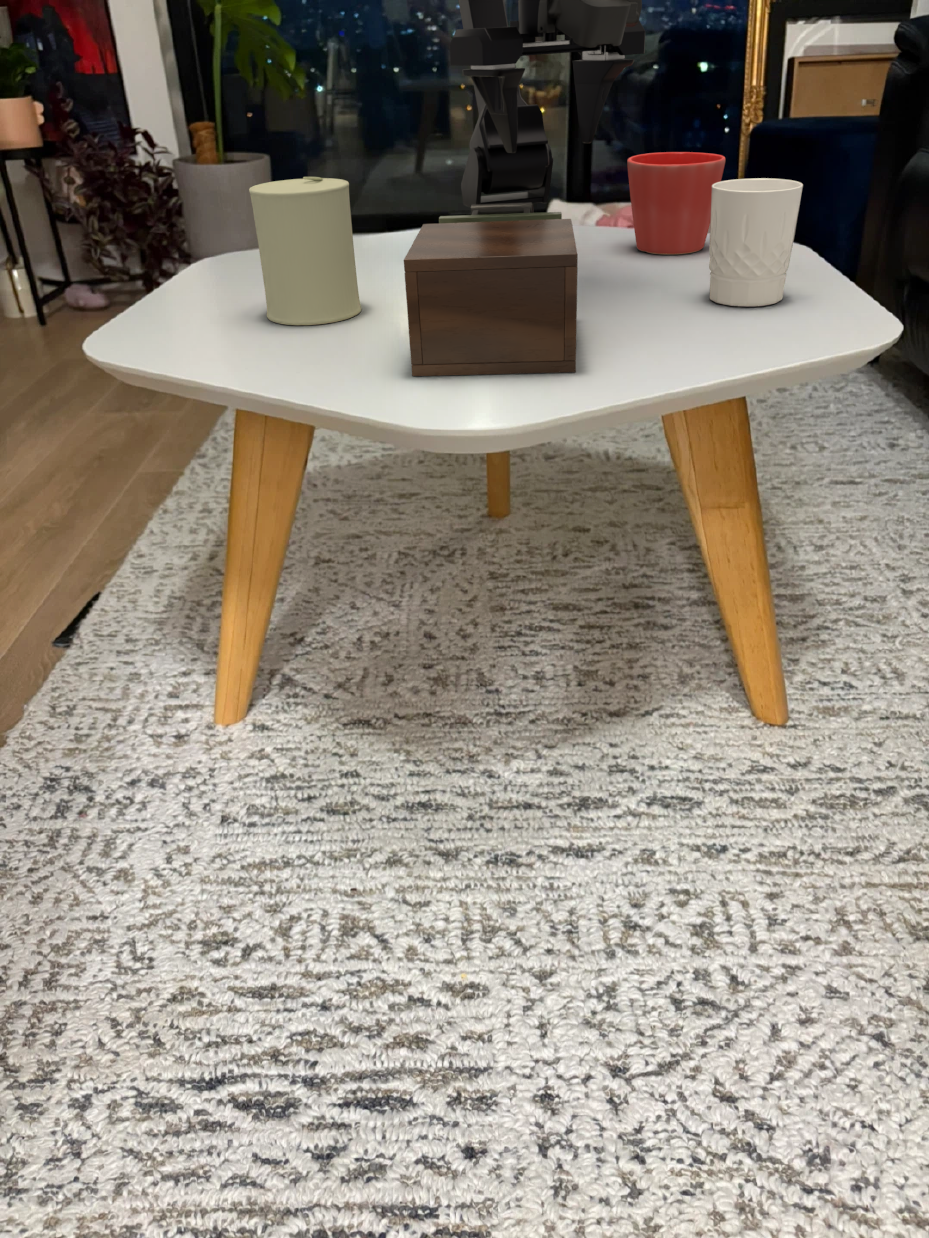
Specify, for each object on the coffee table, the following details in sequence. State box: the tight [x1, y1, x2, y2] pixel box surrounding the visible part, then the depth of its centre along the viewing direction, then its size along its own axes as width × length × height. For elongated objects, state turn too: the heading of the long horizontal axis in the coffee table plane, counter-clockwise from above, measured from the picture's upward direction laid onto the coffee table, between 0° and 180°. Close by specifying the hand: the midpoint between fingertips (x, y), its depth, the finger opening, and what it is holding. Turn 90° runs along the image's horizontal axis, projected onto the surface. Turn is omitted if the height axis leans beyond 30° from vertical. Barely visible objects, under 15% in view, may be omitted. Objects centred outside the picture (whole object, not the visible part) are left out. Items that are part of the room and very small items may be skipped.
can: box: [248, 176, 362, 326], centre depth 92 cm, size 9×9×12 cm
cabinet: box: [403, 218, 579, 377], centre depth 80 cm, size 15×13×9 cm
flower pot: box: [626, 151, 726, 256], centre depth 111 cm, size 11×11×10 cm
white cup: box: [708, 177, 804, 308], centre depth 90 cm, size 8×8×10 cm
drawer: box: [438, 202, 563, 224], centre depth 91 cm, size 18×12×7 cm, turn 176°
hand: (549, 147), depth 93 cm, fingers open, 9 cm apart
